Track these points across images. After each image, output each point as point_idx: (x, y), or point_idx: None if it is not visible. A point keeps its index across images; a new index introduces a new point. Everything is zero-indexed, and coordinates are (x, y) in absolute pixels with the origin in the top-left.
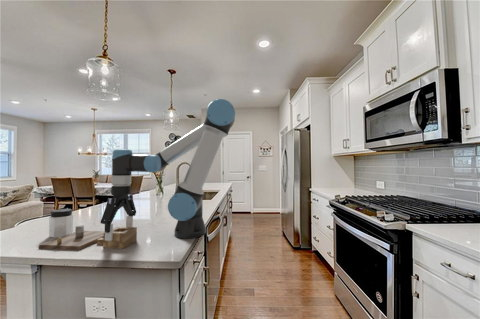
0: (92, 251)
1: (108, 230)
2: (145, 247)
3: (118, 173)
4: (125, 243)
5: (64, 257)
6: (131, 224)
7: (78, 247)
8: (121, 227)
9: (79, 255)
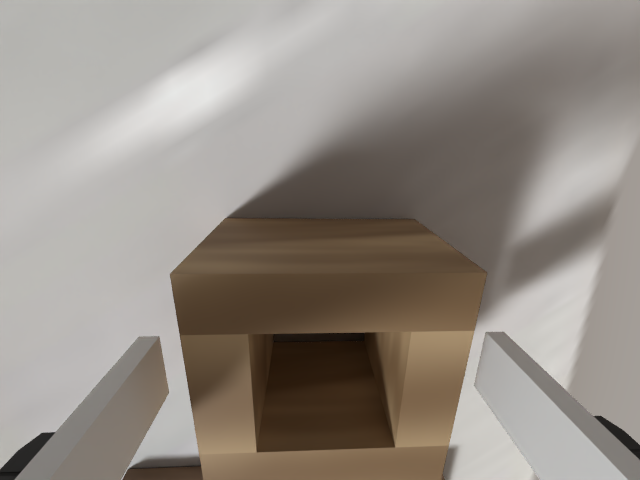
0: None
1: (625, 442)
2: (391, 17)
3: None
4: (405, 229)
5: None
6: (111, 400)
7: (441, 478)
8: (221, 447)
9: None
